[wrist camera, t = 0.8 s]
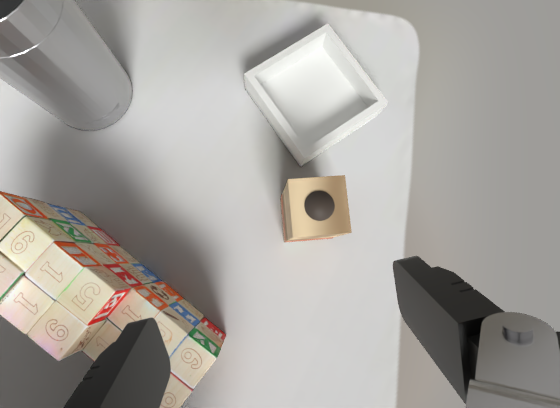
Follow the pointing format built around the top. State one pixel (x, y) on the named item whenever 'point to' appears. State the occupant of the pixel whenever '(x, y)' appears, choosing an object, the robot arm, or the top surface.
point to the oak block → (315, 208)
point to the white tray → (314, 94)
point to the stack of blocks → (92, 292)
